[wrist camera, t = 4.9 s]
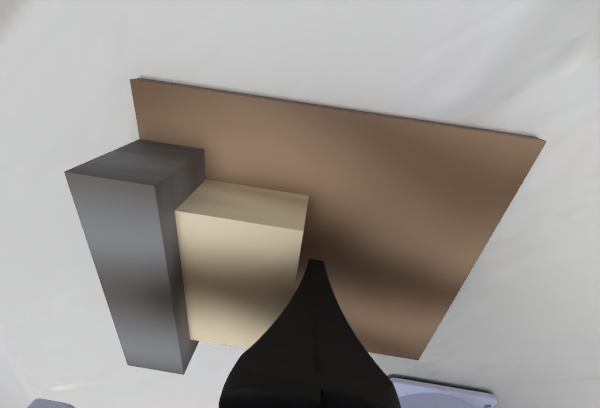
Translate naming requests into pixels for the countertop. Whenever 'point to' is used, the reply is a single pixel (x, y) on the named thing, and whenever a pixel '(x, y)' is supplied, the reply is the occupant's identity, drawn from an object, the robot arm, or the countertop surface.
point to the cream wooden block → (238, 259)
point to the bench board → (319, 216)
